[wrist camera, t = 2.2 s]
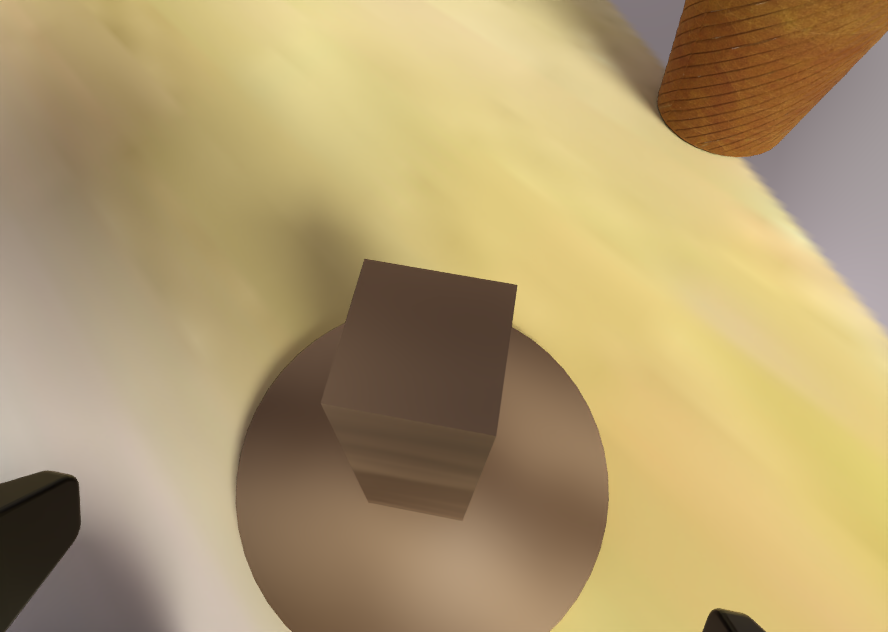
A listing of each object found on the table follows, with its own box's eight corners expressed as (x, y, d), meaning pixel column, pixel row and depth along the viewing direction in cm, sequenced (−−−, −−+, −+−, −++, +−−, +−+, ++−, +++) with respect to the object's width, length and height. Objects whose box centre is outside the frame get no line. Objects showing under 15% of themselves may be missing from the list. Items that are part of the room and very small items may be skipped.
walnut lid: (592, 722, 16) (810, 859, 7) (184, 634, 16) (-99, 655, 7) (608, 344, 21) (738, 152, 12) (305, 291, 22) (227, 73, 13)
